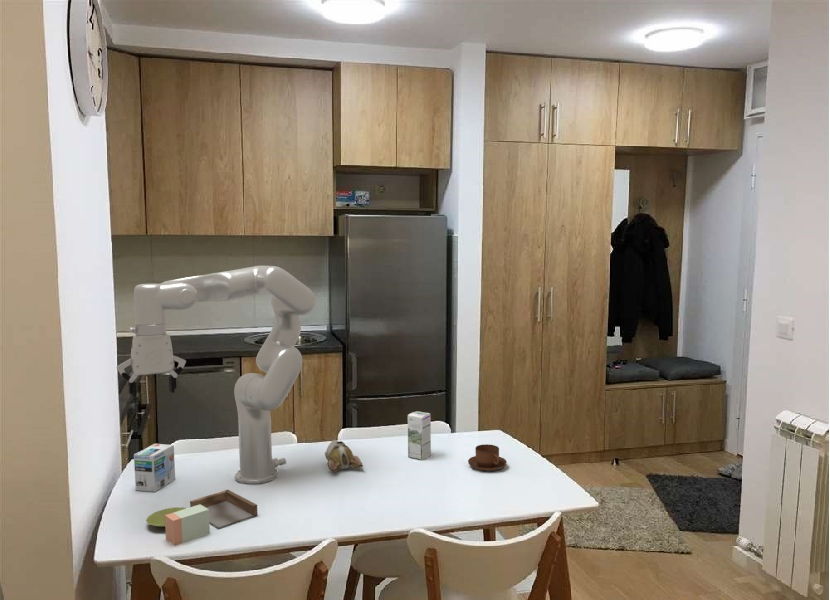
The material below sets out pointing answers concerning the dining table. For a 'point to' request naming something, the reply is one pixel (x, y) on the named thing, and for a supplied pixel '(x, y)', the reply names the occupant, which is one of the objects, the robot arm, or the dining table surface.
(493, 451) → the cup and saucer
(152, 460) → the light bulb box
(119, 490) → the dining table surface
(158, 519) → the green flat disc
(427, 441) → the syrup box
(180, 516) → the peach green box
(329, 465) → the ceramic sculpture
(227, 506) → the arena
